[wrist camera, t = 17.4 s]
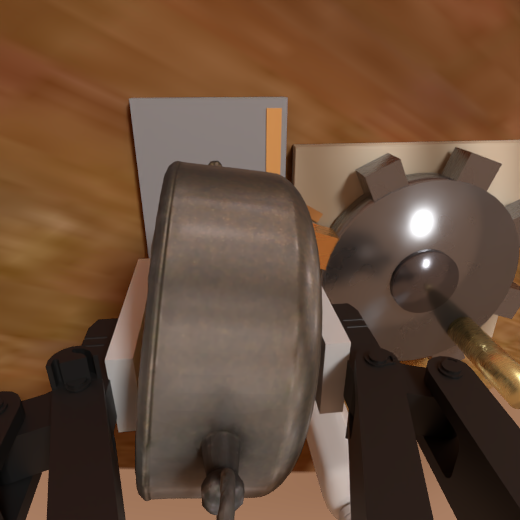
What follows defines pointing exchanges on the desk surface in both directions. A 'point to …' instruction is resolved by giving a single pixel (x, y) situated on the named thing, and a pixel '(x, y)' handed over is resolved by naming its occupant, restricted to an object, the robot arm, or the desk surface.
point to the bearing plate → (413, 160)
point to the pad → (205, 139)
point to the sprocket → (429, 262)
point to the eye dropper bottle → (331, 459)
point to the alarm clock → (227, 337)
